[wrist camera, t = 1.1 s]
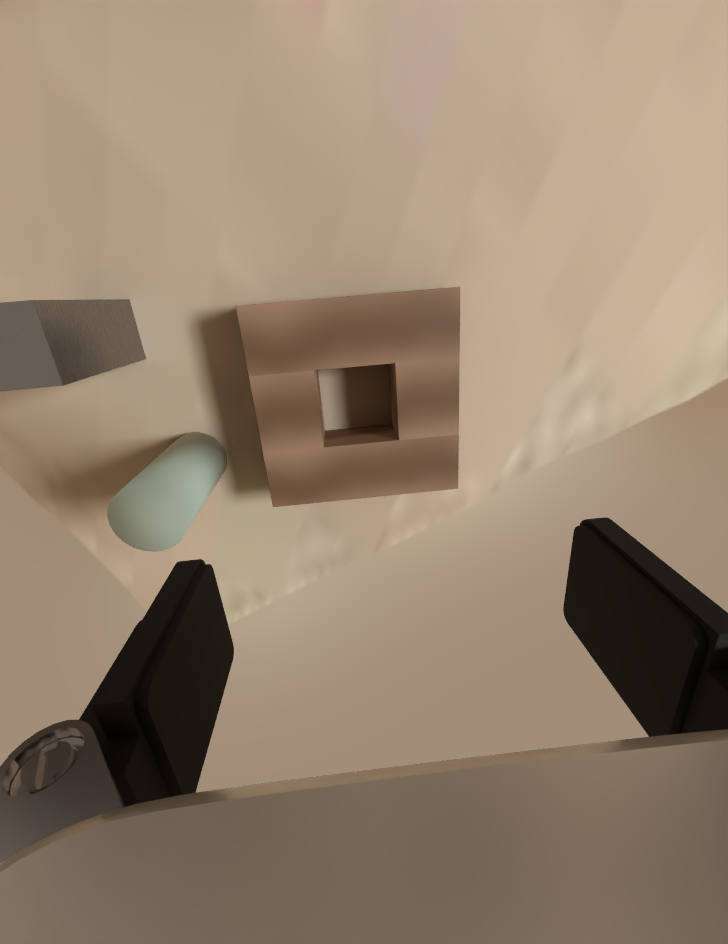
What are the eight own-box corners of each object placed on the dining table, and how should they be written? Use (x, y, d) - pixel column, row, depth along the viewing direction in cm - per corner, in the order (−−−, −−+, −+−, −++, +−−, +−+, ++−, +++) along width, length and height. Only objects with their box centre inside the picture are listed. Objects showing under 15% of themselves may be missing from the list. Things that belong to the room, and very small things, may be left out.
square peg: (90, 363, 30) (-18, 392, 21) (70, 304, 29) (-56, 307, 19) (145, 358, 30) (63, 385, 21) (129, 299, 29) (32, 300, 19)
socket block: (248, 305, 29) (235, 306, 26) (444, 288, 30) (460, 286, 26) (279, 484, 35) (273, 507, 31) (445, 468, 35) (457, 488, 31)
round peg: (164, 435, 32) (96, 489, 23) (220, 429, 33) (176, 481, 23) (178, 485, 34) (120, 555, 25) (232, 480, 34) (194, 547, 25)
